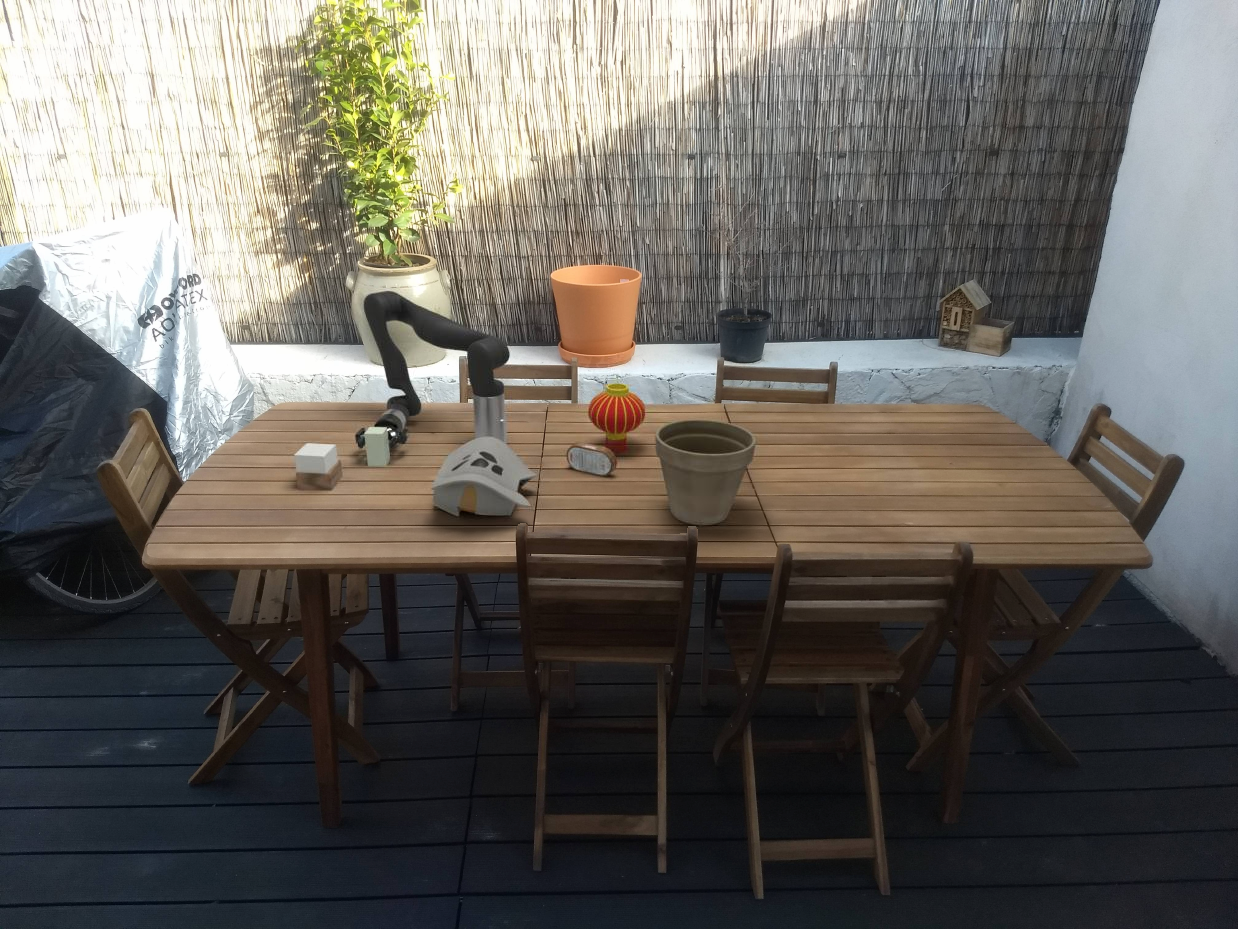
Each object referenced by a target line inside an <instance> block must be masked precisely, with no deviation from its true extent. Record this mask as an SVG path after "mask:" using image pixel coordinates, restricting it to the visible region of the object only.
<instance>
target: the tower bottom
mask: <svg viewBox="0 0 1238 929" xmlns="http://www.w3.org/2000/svg"><path fill="white" fill-rule="evenodd" d="M295 478H296V485H297V490H298V491H299V490H300V491H334V489H335V487H336V486H337V485H338V483H339V482H340V480H341V479H342V478H343V468H342V461H341V460H340V459H338V462H337V463H336V464H335V465H334V466H333V467H332V468H331V469H330V470H329V472H328V473H327V474H320V473H301V472H297V471H296V473H295Z"/></svg>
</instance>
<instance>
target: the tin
mask: <svg viewBox="0 0 1238 929" xmlns="http://www.w3.org/2000/svg"><path fill="white" fill-rule="evenodd" d="M565 455H566V461H567V463H568V465H569V466H570V468H572V469H573V470H575V471H577V472H581V473H586V474H591V475H595V476H599V477H606V476H609V475H610V474H612V473H613V472H614V471H615V470H616V468H617V466H618V465H617V464H618V462H617V456H616V455H615V452H614V453H613V450H612V451H611V449H610V448H609V449H608V448H606V446H601V445H596V444H591V443H587V442H582V441H577V442H574V443H573V444H571V446H569V448H568V449H567V450H566V454H565Z"/></svg>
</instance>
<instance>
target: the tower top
mask: <svg viewBox="0 0 1238 929" xmlns="http://www.w3.org/2000/svg"><path fill="white" fill-rule="evenodd" d="M337 451H338V449H337V444H333V443H332V444H329V443H311V442H310V443H308V442H307V443H305V444H304V445H303V446H302V447H301V448H299V450H298V451H297V452H295V454H294V455H293V456H294V463H295V464H294V465H295V469H296V471H295V472H296V473H297V472H301V473H320V474H327V473H328V472H329V470H330V469H331V468H332V467H333V466H334V465H335V464H336V463H337V462H338V460H339V458H338V452H337Z"/></svg>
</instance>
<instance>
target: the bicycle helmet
mask: <svg viewBox="0 0 1238 929" xmlns="http://www.w3.org/2000/svg"><path fill="white" fill-rule="evenodd" d="M538 477H539V474H536V473H535V472H533V471H531V469H529V468H528V467H527V466H526V465H525V464H524V462H523V461H522V460H521V459H520V458H519V456H517V454H516V453H515V452H514V451H513V449H511V448H510V447H509V445H508V444H507V445H506V444H505V443H504V442H502V441H501V440H499V439H496V438H494V437H480V438H477V439H475V438H474V439H472V440H470V441H468V442H465V443H464V444H462V445H461V446H459V447H457V448H456V449H454V450H453V451H451V453H449V454H448V455H447V456H446V458H445V460H444V461H443V463H442V465H441V467H440V468H439V471H438V473H437V475H436V477H435V479H434V481H433V483H432V485H431V487H430V490H431V491H433V506H435V507H437V508H438V509H441V510H443V511H445V512H446V513H449V514H451V515H454V516H456V517H459V516H460V513H461V512H462V511H464V512H468V513H474V514H475V515H481V516H482V515H483V516H512V514H513V512H514V509H515V506H516V505H517V506H520V507H523V508H532V505H531V504H530V502H529V500H528V499H527V498H526V497H524V495H523V494H521V492H522V488H523V487H524V486H525V485H526V484H527V483H528V482H529V481H531V480H532V479H534V478H538Z"/></svg>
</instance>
